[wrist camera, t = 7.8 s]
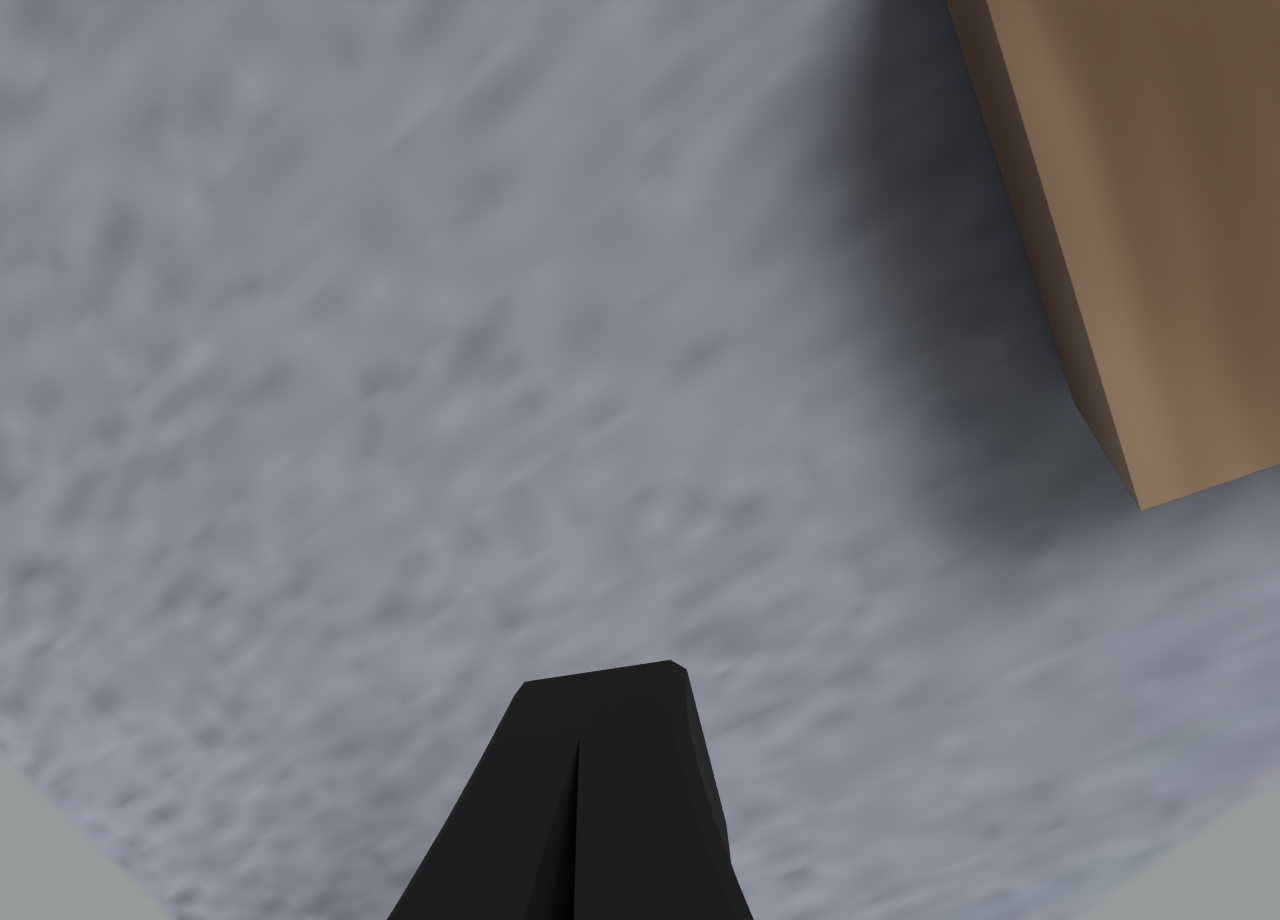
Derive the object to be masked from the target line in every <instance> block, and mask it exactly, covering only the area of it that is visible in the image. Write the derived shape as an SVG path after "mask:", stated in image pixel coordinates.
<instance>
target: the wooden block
mask: <svg viewBox="0 0 1280 920" xmlns="http://www.w3.org/2000/svg"><path fill="white" fill-rule="evenodd" d="M946 2H947V5H948V9H949V12H950V15H951V18H952V21H953V24H954V27H955V31H956V34H957V37H958V40H959V43H960V46H961V49H962V52H963V56H964V59H965V62H966V65H967V68H968V71H969V74H970V78H971V81H972V84H973V87H974V90H975V93H976V96H977V99H978V103H979V106H980V109H981V112H982V115H983V118H984V121H985V125H986V128H987V131H988V134H989V137H990V140H991V143H992V146H993V150H994V153H995V156H996V159H997V162H998V165H999V168H1000V172H1001V175H1002V178H1003V181H1004V184H1005V187H1006V190H1007V194H1008V197H1009V200H1010V203H1011V206H1012V209H1013V212H1014V215H1015V219H1016V222H1017V225H1018V228H1019V231H1020V234H1021V237H1022V241H1023V244H1024V247H1025V250H1026V253H1027V256H1028V259H1029V262H1030V266H1031V269H1032V272H1033V275H1034V278H1035V281H1036V284H1037V288H1038V291H1039V294H1040V297H1041V300H1042V303H1043V306H1044V309H1045V313H1046V316H1047V319H1048V322H1049V325H1050V328H1051V331H1052V335H1053V338H1054V341H1055V344H1056V347H1057V350H1058V353H1059V357H1060V360H1061V363H1062V366H1063V369H1064V372H1065V375H1066V378H1067V382H1068V385H1069V388H1070V391H1071V394H1072V397H1073V400H1074V403H1075V405H1076V407H1077V408H1078V410H1079V412H1080V413H1081V415H1082V416H1083V418H1084V420H1085V421H1086V423H1087V425H1088V426H1089V428H1090V429H1091V431H1092V433H1093V434H1094V436H1095V437H1096V439H1097V441H1098V442H1099V444H1100V446H1101V447H1102V449H1103V450H1104V452H1105V454H1106V455H1107V457H1108V459H1109V460H1110V462H1111V463H1112V465H1113V467H1114V468H1115V470H1116V471H1117V473H1118V475H1119V476H1120V478H1121V480H1122V481H1123V483H1124V484H1125V486H1126V488H1127V489H1128V491H1129V493H1130V494H1131V496H1132V497H1133V499H1134V501H1135V502H1136V504H1137V505H1138V507H1139V509H1140V510H1141V511H1142V510H1145V509H1148V508H1151V507H1154V506H1157V505H1160V504H1163V503H1166V502H1169V501H1172V500H1175V499H1178V498H1181V497H1184V496H1187V495H1189V494H1192V493H1195V492H1198V491H1201V490H1204V489H1207V488H1210V487H1213V486H1216V485H1219V484H1222V483H1225V482H1228V481H1231V480H1234V479H1237V478H1239V477H1242V476H1245V475H1248V474H1251V473H1254V472H1257V471H1260V470H1263V469H1266V468H1269V467H1272V466H1275V465H1278V464H1280V0H946Z"/></svg>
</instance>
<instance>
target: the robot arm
mask: <svg viewBox="0 0 1280 920" xmlns="http://www.w3.org/2000/svg"><path fill="white" fill-rule="evenodd" d="M387 920H754V919H753V917H752V915H751V912H750V910H749V907H748V905H747V903H746V900H745V898H744V895H743V893H742V890H741V888H740V886H739V883H738V881H737V878H736V876H735V873H734V870H733V867H732V865H731V858H730V850H729V842H728V834H727V826H726V821H725V817H724V813H723V809H722V805H721V802H720V798H719V794H718V790H717V786H716V782H715V778H714V774H713V770H712V766H711V762H710V759H709V755H708V751H707V747H706V743H705V739H704V735H703V731H702V727H701V723H700V720H699V716H698V712H697V708H696V704H695V700H694V696H693V692H692V688H691V684H690V681H689V677H688V673H687V669H685V668H683V667H682V666H680V665H678V664H677V663H675V662H673V661H671V660H667V661H660V662H653V663H647V664H640V665H633V666H627V667H620V668H613V669H607V670H600V671H594V672H587V673H580V674H574V675H567V676H560V677H554V678H547V679H540V680H534V681H527V682H524V683H523V685H522V686H521V687H520V689H519V690H518V691H517V692H516V694H515V695H514V697H513V699H512V701H511V703H510V705H509V707H508V709H507V710H506V712H505V714H504V716H503V718H502V720H501V722H500V724H499V726H498V727H497V729H496V731H495V733H494V735H493V737H492V739H491V741H490V743H489V744H488V746H487V748H486V750H485V752H484V754H483V756H482V757H481V759H480V761H479V763H478V765H477V767H476V768H475V770H474V772H473V774H472V776H471V778H470V779H469V781H468V783H467V785H466V787H465V788H464V790H463V792H462V794H461V795H460V797H459V799H458V801H457V803H456V804H455V806H454V808H453V810H452V812H451V813H450V815H449V817H448V819H447V820H446V822H445V824H444V826H443V827H442V829H441V831H440V832H439V834H438V836H437V837H436V839H435V841H434V842H433V844H432V846H431V847H430V849H429V851H428V853H427V854H426V856H425V858H424V859H423V861H422V863H421V864H420V866H419V868H418V869H417V871H416V873H415V874H414V876H413V878H412V879H411V881H410V883H409V884H408V886H407V888H406V889H405V891H404V893H403V895H402V896H401V898H400V900H399V901H398V903H397V904H396V906H395V908H394V909H393V911H392V912H391V914H390V916H389V917H388V919H387Z"/></svg>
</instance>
